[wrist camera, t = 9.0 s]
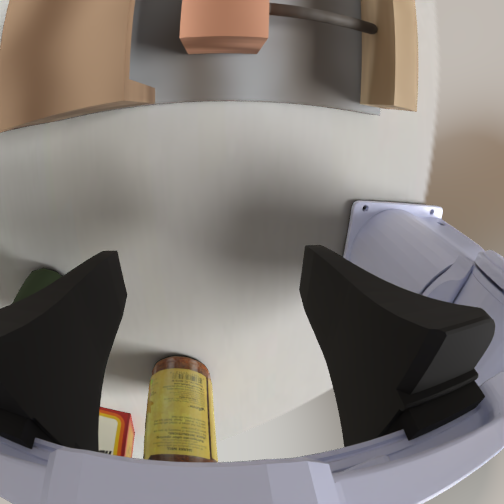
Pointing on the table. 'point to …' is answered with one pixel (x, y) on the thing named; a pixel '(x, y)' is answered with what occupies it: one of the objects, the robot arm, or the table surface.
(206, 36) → the pull block
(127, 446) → the baking soda box
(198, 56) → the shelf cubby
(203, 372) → the sauce bottle
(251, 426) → the table surface
